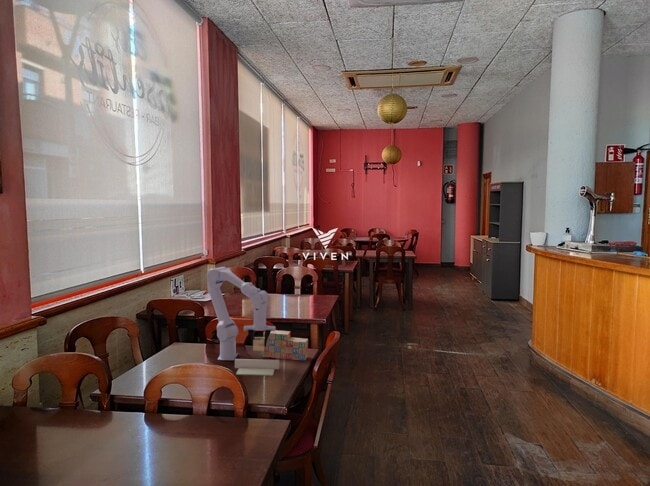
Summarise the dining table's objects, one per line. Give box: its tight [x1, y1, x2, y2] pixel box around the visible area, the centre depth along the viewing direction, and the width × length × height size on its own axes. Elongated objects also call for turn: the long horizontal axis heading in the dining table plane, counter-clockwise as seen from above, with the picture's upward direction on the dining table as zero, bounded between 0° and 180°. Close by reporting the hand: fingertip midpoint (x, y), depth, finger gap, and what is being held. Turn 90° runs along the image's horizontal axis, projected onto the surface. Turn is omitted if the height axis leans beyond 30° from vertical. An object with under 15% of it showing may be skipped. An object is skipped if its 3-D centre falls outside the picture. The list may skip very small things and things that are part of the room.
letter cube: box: [252, 336, 265, 352], centre depth 206 cm, size 5×5×5 cm
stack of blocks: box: [262, 329, 309, 362], centre depth 217 cm, size 21×6×12 cm, turn 78°
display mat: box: [235, 368, 275, 377], centre depth 195 cm, size 7×16×1 cm, turn 91°
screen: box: [234, 358, 280, 370], centre depth 200 cm, size 1×20×4 cm, turn 91°
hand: (259, 345), depth 206 cm, fingers closed on letter cube, 5 cm apart
